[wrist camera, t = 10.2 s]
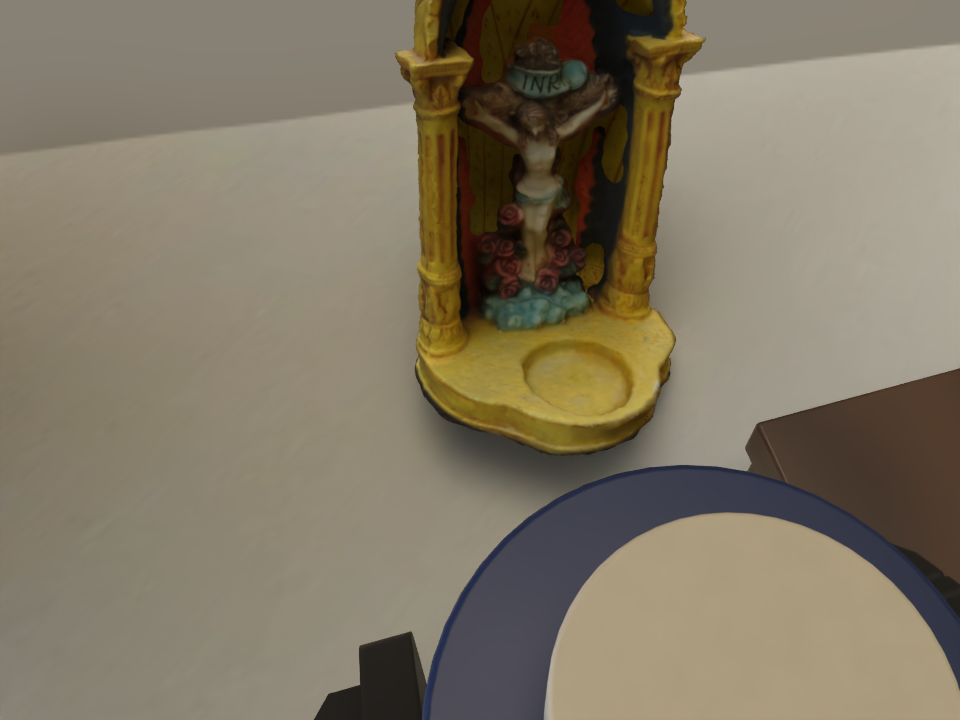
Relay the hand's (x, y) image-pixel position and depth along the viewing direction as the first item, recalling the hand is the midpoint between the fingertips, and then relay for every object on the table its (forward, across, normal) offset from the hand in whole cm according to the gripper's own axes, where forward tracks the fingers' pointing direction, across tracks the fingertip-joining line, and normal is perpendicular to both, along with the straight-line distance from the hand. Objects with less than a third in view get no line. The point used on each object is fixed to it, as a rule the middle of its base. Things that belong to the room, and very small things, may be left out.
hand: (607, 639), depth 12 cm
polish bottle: (+2, 0, +4) cm, 5 cm away
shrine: (+18, -3, +1) cm, 18 cm away
